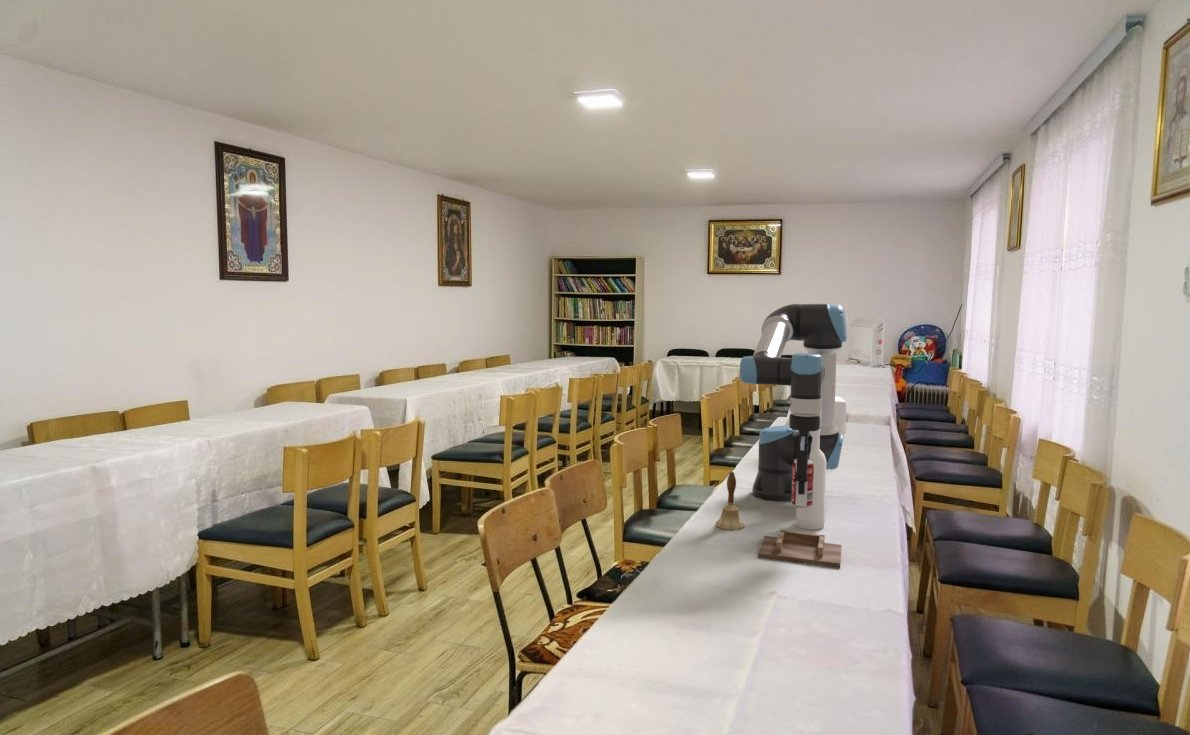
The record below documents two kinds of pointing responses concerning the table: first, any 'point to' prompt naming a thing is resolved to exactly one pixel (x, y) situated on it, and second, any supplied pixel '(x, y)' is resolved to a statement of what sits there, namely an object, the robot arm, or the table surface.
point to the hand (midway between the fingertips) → (801, 502)
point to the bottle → (815, 489)
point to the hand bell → (730, 508)
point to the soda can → (809, 485)
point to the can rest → (801, 549)
